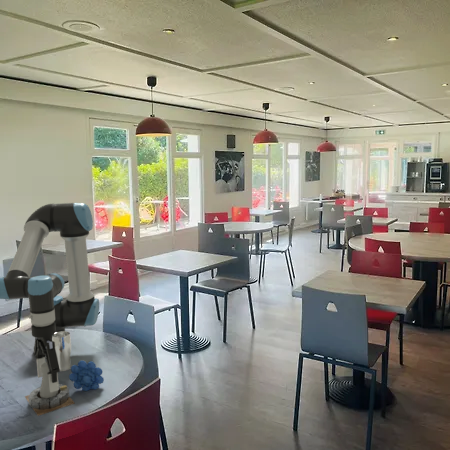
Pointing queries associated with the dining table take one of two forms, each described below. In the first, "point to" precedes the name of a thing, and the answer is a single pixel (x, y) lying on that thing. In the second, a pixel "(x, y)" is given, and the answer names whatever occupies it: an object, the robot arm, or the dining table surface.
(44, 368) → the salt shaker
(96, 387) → the grapes
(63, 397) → the grey segmented ring
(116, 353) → the dining table surface
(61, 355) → the beer glass
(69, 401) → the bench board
